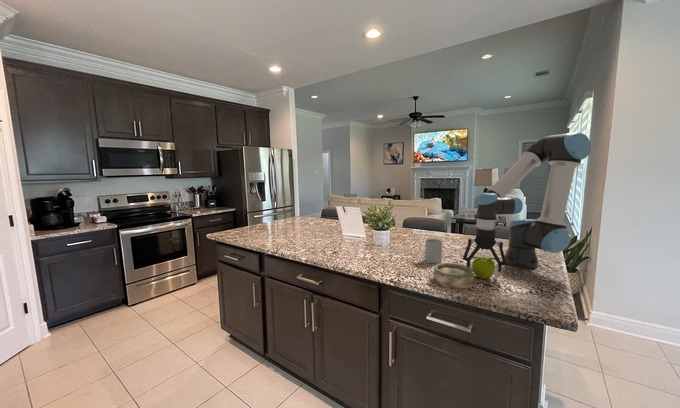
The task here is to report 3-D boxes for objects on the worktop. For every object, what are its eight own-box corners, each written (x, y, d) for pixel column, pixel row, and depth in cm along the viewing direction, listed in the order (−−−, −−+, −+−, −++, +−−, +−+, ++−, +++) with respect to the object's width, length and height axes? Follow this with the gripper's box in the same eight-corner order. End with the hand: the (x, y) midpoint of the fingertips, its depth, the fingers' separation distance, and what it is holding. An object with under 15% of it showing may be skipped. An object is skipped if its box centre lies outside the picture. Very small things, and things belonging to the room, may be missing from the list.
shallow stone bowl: (473, 277, 128) (473, 265, 127) (472, 291, 113) (473, 278, 113) (435, 272, 135) (436, 261, 134) (431, 284, 120) (431, 272, 120)
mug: (438, 264, 146) (439, 243, 144) (422, 261, 151) (423, 241, 149) (445, 258, 155) (446, 239, 154) (430, 256, 160) (431, 237, 159)
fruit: (493, 283, 122) (495, 260, 120) (470, 278, 126) (471, 257, 125) (495, 276, 129) (496, 255, 128) (472, 272, 134) (474, 251, 133)
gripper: (514, 228, 124) (511, 278, 126) (458, 224, 133) (456, 270, 136) (516, 232, 117) (513, 284, 120) (457, 227, 127) (455, 276, 129)
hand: (482, 277), depth 128 cm, fingers open, 10 cm apart
